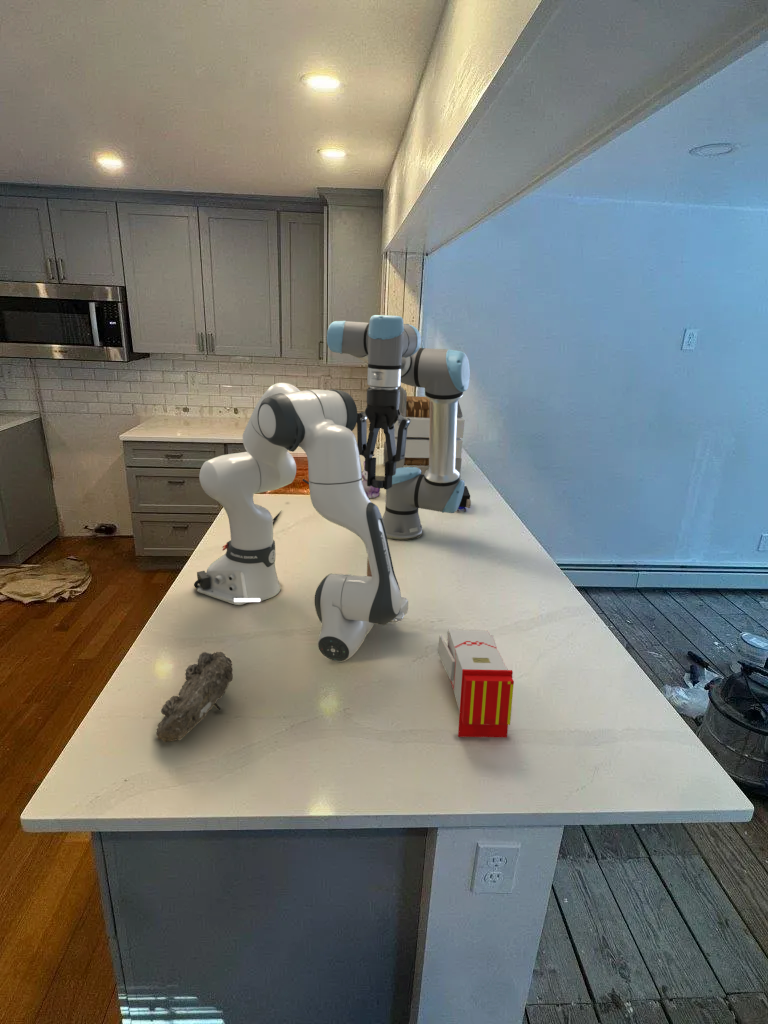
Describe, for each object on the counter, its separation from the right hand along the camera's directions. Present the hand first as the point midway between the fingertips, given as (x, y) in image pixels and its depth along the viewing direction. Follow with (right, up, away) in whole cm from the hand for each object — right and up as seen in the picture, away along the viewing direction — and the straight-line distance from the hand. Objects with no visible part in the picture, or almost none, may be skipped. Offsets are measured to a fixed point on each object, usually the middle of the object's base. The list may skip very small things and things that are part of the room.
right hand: (379, 486), depth 136 cm
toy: (+19, -44, -17) cm, 51 cm away
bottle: (-1, -33, +12) cm, 35 cm away
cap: (0, +2, -1) cm, 2 cm away
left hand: (-1, -26, +10) cm, 28 cm away
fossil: (-34, -44, -26) cm, 62 cm away
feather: (-38, -7, +77) cm, 86 cm away
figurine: (-5, +1, +103) cm, 103 cm away
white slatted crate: (+18, +13, +139) cm, 141 cm away
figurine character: (+32, -5, +93) cm, 99 cm away
